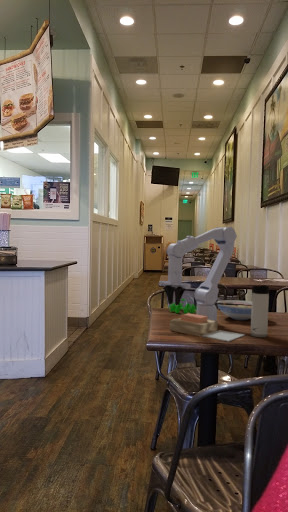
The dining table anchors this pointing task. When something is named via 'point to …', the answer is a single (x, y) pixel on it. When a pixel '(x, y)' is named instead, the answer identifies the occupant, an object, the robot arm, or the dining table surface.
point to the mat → (223, 335)
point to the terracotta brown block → (194, 318)
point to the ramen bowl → (236, 309)
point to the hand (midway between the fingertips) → (173, 304)
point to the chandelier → (187, 308)
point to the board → (193, 327)
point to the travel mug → (259, 311)
